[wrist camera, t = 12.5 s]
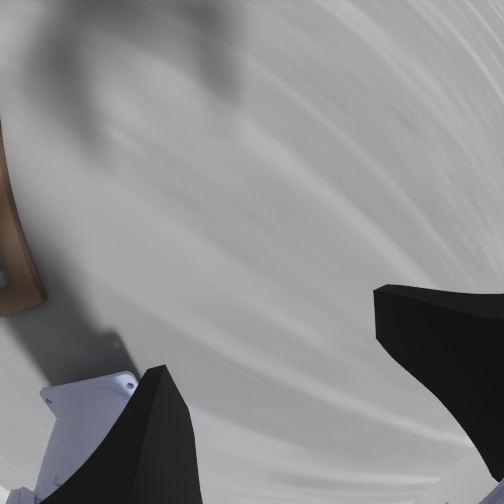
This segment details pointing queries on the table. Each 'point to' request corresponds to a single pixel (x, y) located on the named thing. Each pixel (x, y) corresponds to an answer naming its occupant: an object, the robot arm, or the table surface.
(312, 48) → the table surface
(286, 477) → the table surface
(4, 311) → the holder
